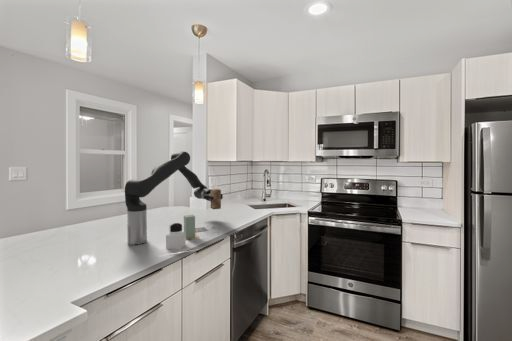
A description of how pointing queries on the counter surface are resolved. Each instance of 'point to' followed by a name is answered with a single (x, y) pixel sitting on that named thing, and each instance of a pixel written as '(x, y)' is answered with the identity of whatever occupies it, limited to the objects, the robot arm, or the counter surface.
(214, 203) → the walnut block
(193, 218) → the sage block
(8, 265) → the counter surface
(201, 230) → the slate tile
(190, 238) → the oak tile
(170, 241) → the medicine bottle
